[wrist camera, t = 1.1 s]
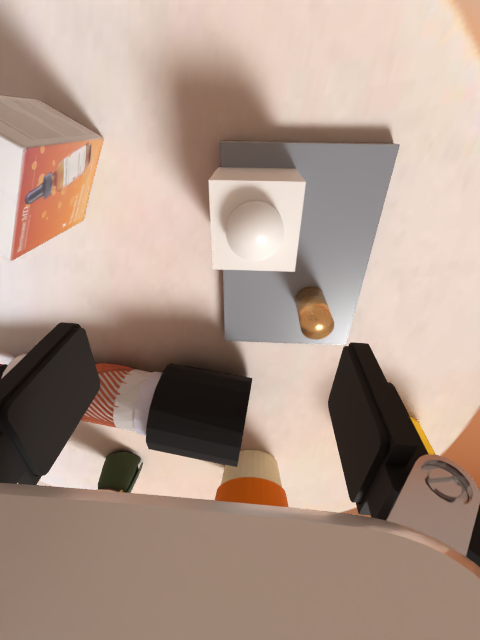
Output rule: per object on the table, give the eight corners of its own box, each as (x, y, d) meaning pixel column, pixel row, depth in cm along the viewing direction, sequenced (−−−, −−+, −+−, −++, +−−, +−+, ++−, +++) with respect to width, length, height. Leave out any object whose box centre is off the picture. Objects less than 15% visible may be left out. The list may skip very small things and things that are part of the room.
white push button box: (218, 167, 25) (206, 182, 19) (296, 168, 24) (308, 184, 19) (220, 242, 28) (210, 274, 22) (288, 244, 28) (296, 277, 22)
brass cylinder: (296, 285, 30) (302, 312, 26) (326, 286, 30) (337, 313, 26) (293, 310, 32) (298, 338, 28) (321, 311, 32) (331, 340, 28)
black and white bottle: (17, 325, 43) (-60, 337, 32) (253, 368, 40) (249, 396, 30) (13, 393, 44) (-63, 424, 34) (241, 438, 41) (233, 487, 31)
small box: (84, 221, 29) (11, 265, 20) (24, 190, 28) (-82, 224, 19) (106, 137, 25) (26, 148, 16) (37, 95, 24) (-92, 84, 15)
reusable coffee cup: (289, 482, 54) (299, 591, 42) (221, 484, 56) (211, 589, 43) (286, 441, 47) (296, 556, 35) (209, 444, 49) (192, 556, 36)
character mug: (155, 473, 55) (131, 560, 44) (120, 475, 56) (87, 561, 45) (132, 438, 49) (97, 528, 38) (93, 441, 50) (48, 530, 39)
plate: (221, 140, 25) (219, 142, 24) (393, 143, 24) (399, 144, 23) (225, 334, 36) (224, 340, 35) (343, 338, 35) (345, 345, 34)
